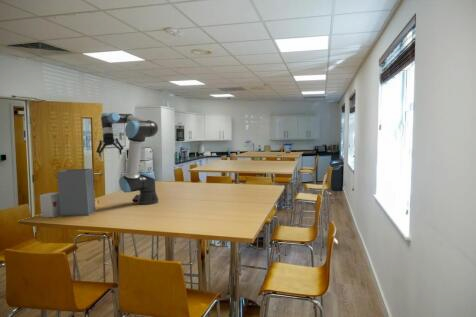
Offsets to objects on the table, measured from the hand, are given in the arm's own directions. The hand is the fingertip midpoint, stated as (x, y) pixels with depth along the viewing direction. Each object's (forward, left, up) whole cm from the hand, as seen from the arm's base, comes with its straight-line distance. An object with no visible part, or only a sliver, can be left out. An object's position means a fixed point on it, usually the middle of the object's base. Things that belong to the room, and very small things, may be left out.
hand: (111, 160), depth 258 cm
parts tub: (+13, +36, -33) cm, 51 cm away
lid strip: (+13, +12, -34) cm, 38 cm away
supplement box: (+30, +37, -34) cm, 58 cm away
